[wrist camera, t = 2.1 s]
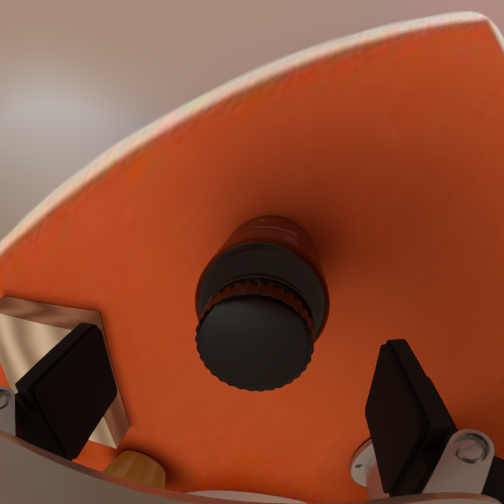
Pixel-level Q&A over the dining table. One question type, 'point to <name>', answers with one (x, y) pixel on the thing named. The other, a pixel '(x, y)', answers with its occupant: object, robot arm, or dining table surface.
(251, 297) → the supplement bottle
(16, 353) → the beech block
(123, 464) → the plant pot
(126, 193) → the dining table surface
